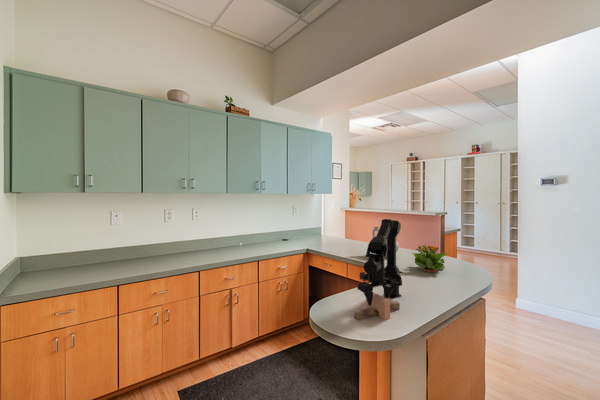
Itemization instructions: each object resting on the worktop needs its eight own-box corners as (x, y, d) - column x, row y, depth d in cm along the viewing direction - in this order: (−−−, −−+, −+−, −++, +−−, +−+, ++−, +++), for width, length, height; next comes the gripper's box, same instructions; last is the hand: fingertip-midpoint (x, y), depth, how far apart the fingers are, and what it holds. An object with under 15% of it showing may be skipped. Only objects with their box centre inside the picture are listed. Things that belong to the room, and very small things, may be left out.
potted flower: (454, 276, 174) (455, 249, 174) (415, 275, 179) (415, 248, 179) (442, 266, 199) (442, 242, 198) (408, 265, 204) (408, 241, 203)
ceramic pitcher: (372, 259, 228) (372, 229, 225) (372, 252, 247) (372, 225, 244) (399, 260, 223) (400, 230, 220) (397, 253, 242) (397, 225, 239)
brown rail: (395, 307, 129) (395, 301, 129) (399, 309, 127) (399, 302, 127) (354, 318, 118) (354, 311, 118) (358, 320, 116) (358, 313, 116)
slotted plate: (371, 307, 128) (371, 291, 128) (390, 318, 118) (390, 299, 118) (366, 309, 127) (366, 292, 127) (384, 319, 116) (384, 301, 116)
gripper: (380, 262, 133) (380, 294, 134) (349, 267, 125) (349, 301, 125) (398, 267, 123) (398, 302, 124) (365, 273, 115) (365, 310, 115)
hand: (377, 303), depth 122 cm, fingers open, 9 cm apart
